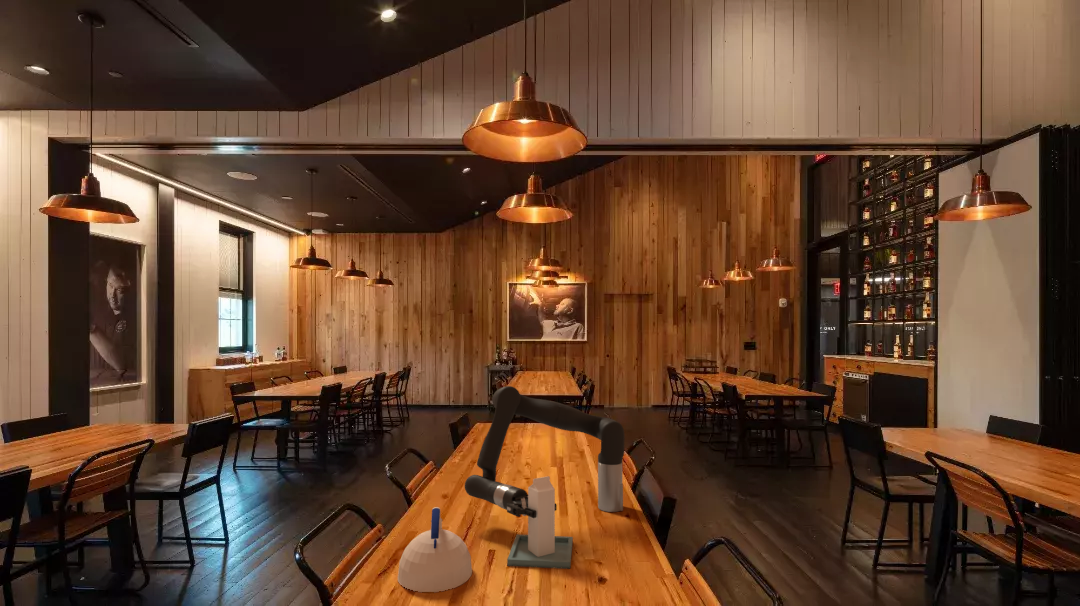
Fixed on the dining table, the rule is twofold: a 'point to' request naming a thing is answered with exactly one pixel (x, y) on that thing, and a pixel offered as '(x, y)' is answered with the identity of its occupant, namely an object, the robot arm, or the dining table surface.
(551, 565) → the tray
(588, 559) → the dining table surface
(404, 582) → the dome with blue handle
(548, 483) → the milk
